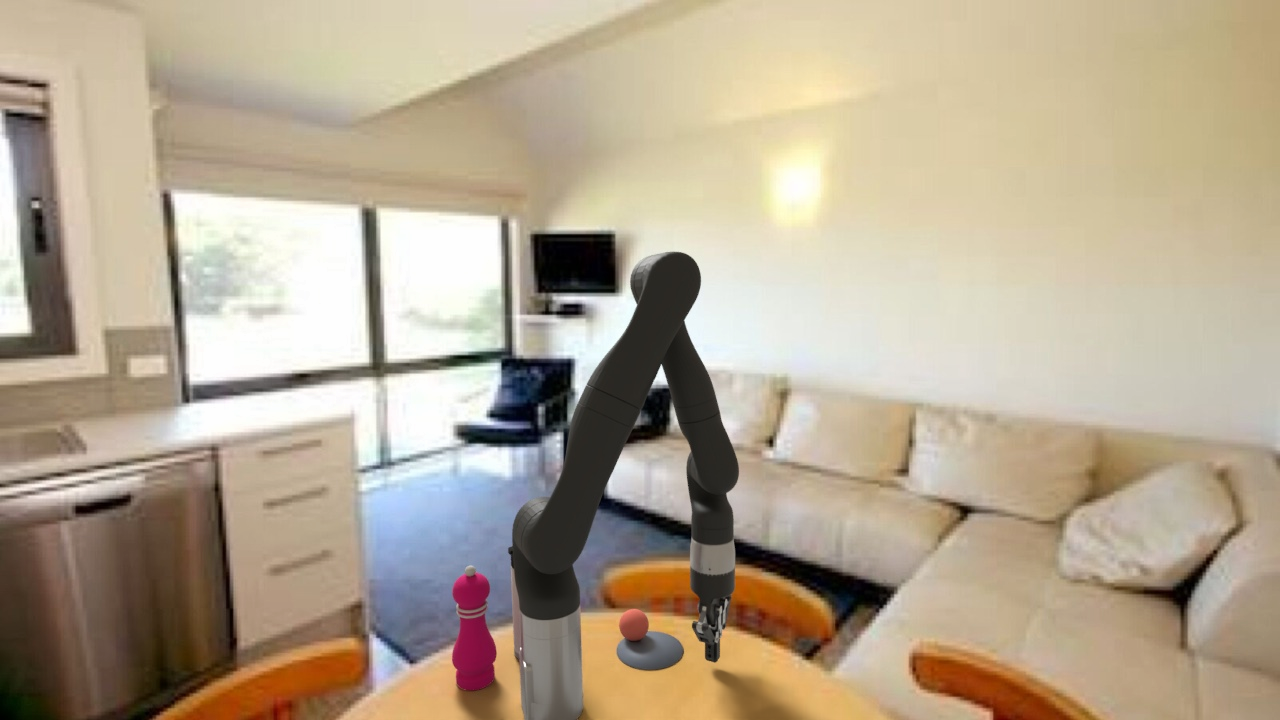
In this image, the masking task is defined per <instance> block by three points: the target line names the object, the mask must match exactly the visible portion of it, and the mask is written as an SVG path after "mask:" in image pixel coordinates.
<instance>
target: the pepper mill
mask: <svg viewBox="0 0 1280 720" xmlns="http://www.w3.org/2000/svg"><path fill="white" fill-rule="evenodd" d="M476 569H477V568H476V567H475V566H474V565H468V566H466V567H465V569H464V574H462V575H461V576H459V577H458V578H457V579H456V580H455V581H454V584H453V585H452V586H453V587H452V592H451V593H452V598H453V600H454V602H455V603H457V604H456V607H455V608H456V615H457V616H458V617H459V631H458V635H457V638H456V640H455V643H454V644H453V645H454V646H453V649H452V652H451V653H452V654H451V655H452V656H451V663H452V665H453V667H454V668H455V669H456V672H455V679H456V681H455V682H456V685H457V686H458V687H459V689H461V690H464V691H468V692H469V691H471V692H473V691H479V690H482V689H485V688H486V687H488V686H489V685H491V684H492V683H493V681H494V680H495V678H496V676H495V675H496V674H495V671H496V670H495V665H494V662H495V661H496V659H497V645H496V642H495V640H494V638H493V635H492V634H491V633H490V630H489V628H488V625H487V621H486V613H487V611H488V610H489V607H488V604H489V603H488V600H487V599H488V598H489V596H490V592H491V584H490V582H489V579H488V578H487V576H485V575H484V574H482V573H479V572H477V570H476Z"/></svg>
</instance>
